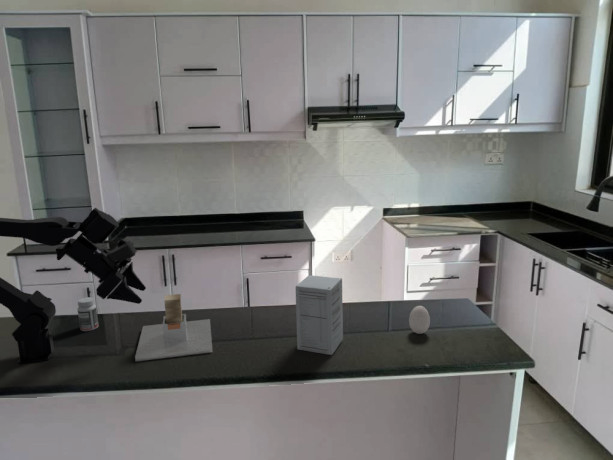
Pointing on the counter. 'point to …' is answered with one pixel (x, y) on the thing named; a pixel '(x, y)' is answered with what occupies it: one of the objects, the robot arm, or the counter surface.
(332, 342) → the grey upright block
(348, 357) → the counter surface
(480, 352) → the counter surface
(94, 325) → the pill bottle
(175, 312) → the post
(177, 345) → the stand
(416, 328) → the egg
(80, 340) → the counter surface
